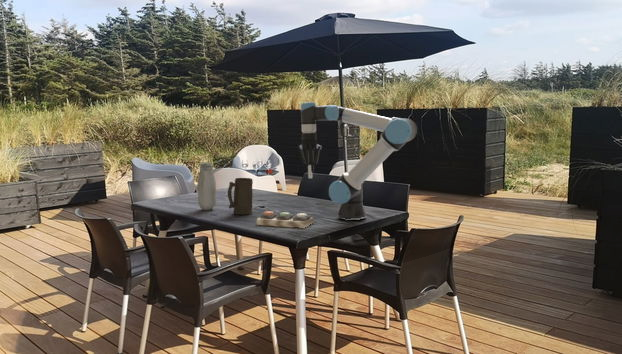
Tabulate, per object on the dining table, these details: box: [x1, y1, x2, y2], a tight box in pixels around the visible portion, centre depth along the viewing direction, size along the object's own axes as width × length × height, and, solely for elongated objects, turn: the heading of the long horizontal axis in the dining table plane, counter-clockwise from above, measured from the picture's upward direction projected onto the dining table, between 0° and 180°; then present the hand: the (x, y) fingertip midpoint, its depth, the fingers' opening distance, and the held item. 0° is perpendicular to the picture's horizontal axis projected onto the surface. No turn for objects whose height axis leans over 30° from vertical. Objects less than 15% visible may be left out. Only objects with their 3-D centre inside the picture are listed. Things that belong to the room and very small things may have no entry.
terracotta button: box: [263, 210, 275, 216], centre depth 263 cm, size 5×5×2 cm
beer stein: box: [227, 177, 254, 215], centre depth 287 cm, size 15×11×20 cm
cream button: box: [296, 212, 307, 218], centre depth 257 cm, size 5×5×2 cm
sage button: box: [279, 211, 291, 217], centre depth 260 cm, size 5×5×2 cm
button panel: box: [256, 212, 314, 229], centre depth 260 cm, size 26×12×4 cm, turn 70°
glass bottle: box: [197, 161, 217, 211], centre depth 300 cm, size 10×10×28 cm
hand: (310, 178), depth 267 cm, fingers closed
